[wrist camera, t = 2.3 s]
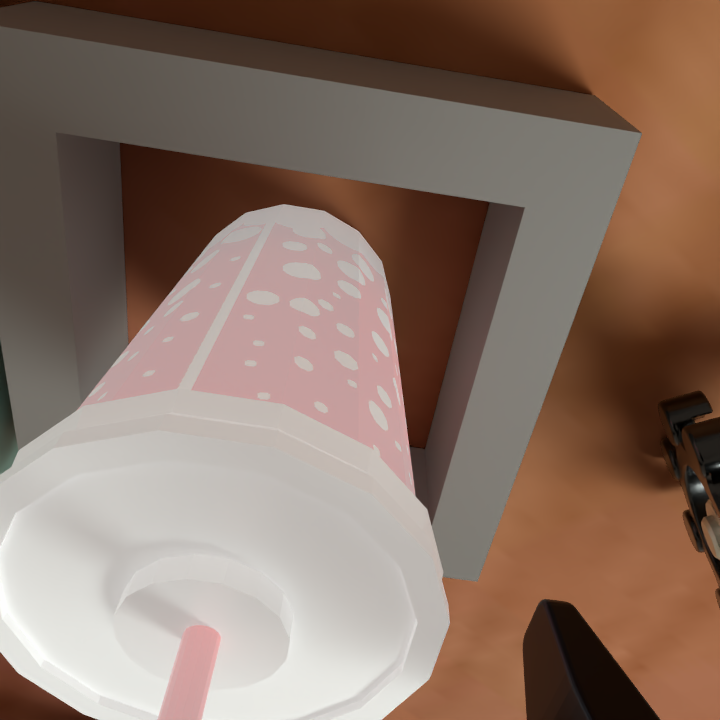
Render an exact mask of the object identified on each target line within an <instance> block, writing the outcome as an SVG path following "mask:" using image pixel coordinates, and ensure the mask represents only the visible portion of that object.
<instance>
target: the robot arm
mask: <svg viewBox="0 0 720 720" xmlns="http://www.w3.org/2000/svg"><path fill="white" fill-rule="evenodd" d="M523 664H524V680H525V697H526V714H527V720H660V719H659V717H658V716H657V715H656V713H655V712H654V711H653V709H652V708H651V707H650V705H649V704H648V703H647V701H646V700H645V699H644V697H643V696H642V695H641V694H640V692H639V691H638V690H637V688H636V687H635V686H634V684H633V683H632V682H631V680H630V679H629V678H628V676H627V675H626V674H625V672H624V671H623V670H622V668H621V667H620V666H619V665H618V663H617V662H616V661H615V659H614V658H613V657H612V655H611V654H610V653H609V651H608V650H607V649H606V647H605V646H604V645H603V643H602V642H601V641H600V639H599V638H598V637H597V636H596V634H595V633H594V632H593V630H592V629H591V628H590V626H589V625H588V624H587V622H586V621H585V620H584V618H583V617H582V616H581V614H580V613H579V612H578V610H577V609H576V608H575V607H574V606H573V605H572V604H570V603H568V602H565V601H557V600H550V599H544V600H542V601H541V602H540V603H539V604H538V606H537V608H536V610H535V613H534V615H533V617H532V619H531V621H530V624H529V626H528V628H527V630H526V633H525V636H524V640H523Z"/></svg>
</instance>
